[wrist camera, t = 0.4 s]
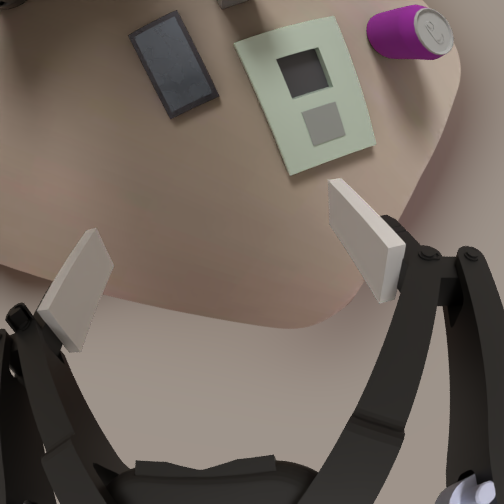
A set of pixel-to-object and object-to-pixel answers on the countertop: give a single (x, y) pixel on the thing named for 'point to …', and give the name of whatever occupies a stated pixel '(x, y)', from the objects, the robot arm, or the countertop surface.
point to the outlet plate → (308, 92)
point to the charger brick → (229, 3)
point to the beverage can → (410, 33)
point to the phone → (173, 64)
